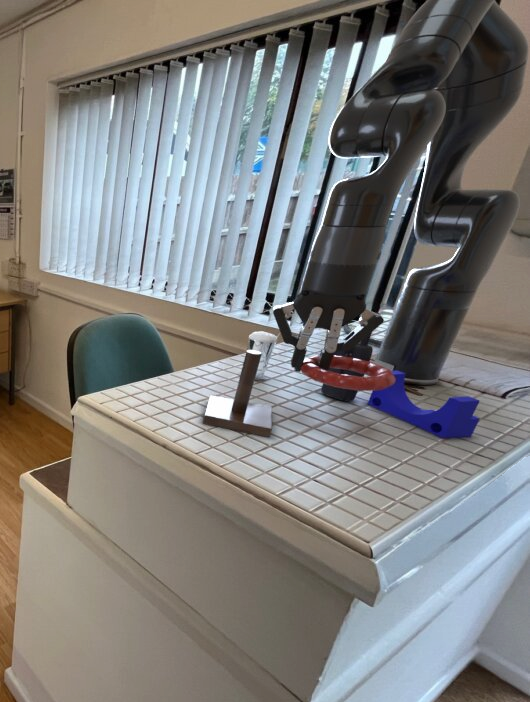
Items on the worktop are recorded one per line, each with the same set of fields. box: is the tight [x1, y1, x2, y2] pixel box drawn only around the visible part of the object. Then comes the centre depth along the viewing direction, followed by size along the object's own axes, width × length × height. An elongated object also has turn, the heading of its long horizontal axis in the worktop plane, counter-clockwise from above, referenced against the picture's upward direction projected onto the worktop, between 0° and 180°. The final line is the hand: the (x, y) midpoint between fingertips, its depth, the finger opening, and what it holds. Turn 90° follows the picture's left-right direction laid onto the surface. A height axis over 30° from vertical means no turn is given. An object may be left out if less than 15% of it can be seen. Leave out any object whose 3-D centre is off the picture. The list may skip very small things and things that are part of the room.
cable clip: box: [367, 370, 481, 439], centre depth 72 cm, size 12×4×6 cm, turn 5°
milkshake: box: [246, 330, 281, 381], centre depth 88 cm, size 4×5×10 cm
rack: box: [202, 350, 273, 438], centre depth 72 cm, size 9×9×12 cm
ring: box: [300, 355, 396, 392], centre depth 70 cm, size 11×11×2 cm
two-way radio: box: [320, 332, 374, 402], centre depth 78 cm, size 6×4×15 cm
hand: (307, 371), depth 72 cm, fingers closed on ring, 2 cm apart
